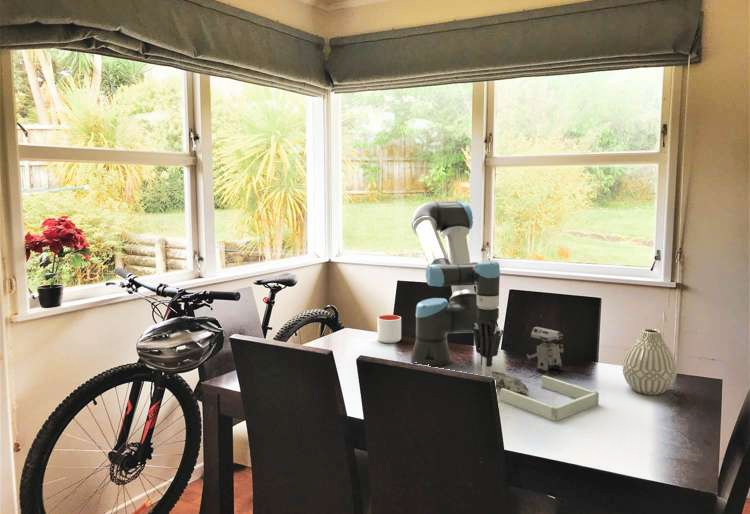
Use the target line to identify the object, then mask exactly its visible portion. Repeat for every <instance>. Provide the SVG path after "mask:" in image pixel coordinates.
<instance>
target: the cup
mask: <svg viewBox="0 0 750 514" xmlns="http://www.w3.org/2000/svg"><path fill="white" fill-rule="evenodd" d="M377 339H378V342H379V341H380V342H381V343H385V344H386V343H387V344H394V343H398V342H400V341H401V339H402V316H399V315H397V314H395V315H393V314H385V315H379V316H378V317H377Z"/></svg>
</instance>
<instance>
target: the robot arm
mask: <svg viewBox="0 0 750 514" xmlns="http://www.w3.org/2000/svg"><path fill="white" fill-rule="evenodd" d="M473 219H474V216H473V211H472V208H471V207H470V205H469V204H468V203H467V202H464V201H458V200H455V201H427V202H425V203H423V204H421V205H420V206H419V207H417V209H416V210H415V211H414V212H413V215H412V217H411V222H410V223H411V228H412V231H413V233H414V235H416V236H417V238H418V240H419V243H420V245H421V249H422V250H423V251H422V252H423V254H424V256H425V259H426V262H427V266H426V268H425V280H426V284H427V285H428V286H430V287H439V288H440V287H448V286H449V287H451V293H452V294H451V296H450V297H449V301H448V299H446V298H444V297H443V298H442V297H439V298H438V297H432V298H427V299H423V300H421V301H419V302H417V304H416V306H415V307H416V308H415V343H414V345H413V348H412V352H411V355H410V361H411V360H412V361H413V362H417V364H422V365H428V364H429V366H434V367H433V368H436V367H437V368H438V367H443V366H442V365H445V366H447V365H446V364H448V365H450V364H451V363H452V354H451V352H450V347H449V344H448V334H462V333H464V334H467V333H470V334H473V337H474V338H473V339H474V345H475V351H476V353H477V354H479V355H480V364H481V376H483V375H485V376H484V377H486V376H487V377H488V376H490V375H491V376H492V369H491V368H492V367H493V358H494V357H497V356H498V353H499V349H500V345H501V340H502V336H503V334H504V333H505V332H504V331H505V330H503V329H500V328H499V323H498V320H499V316H500V314H499V313H500V308H499V307H500V281H501V280H500V276H501V269H500V264H499V262H498V261H495V260H480V261H478V262H476V261H475V262H473V261H472V262H471V258H470V252H469V245H468V238H467V236H468V235H469V233H470V230H471V229H472V228H473V225H474V224H473V223H474V220H473ZM438 231H439V233H438ZM439 234H440V235H439ZM440 237H441V238H442V239H444V242H445V247H444V245H443V242H442V240H441V238H440ZM445 248H446V250H445ZM475 286H476V291H475ZM412 361H411V362H412ZM413 362H412V363H413ZM450 362H451V363H450ZM449 363H450V364H449ZM417 364H416V365H417Z"/></svg>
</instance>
